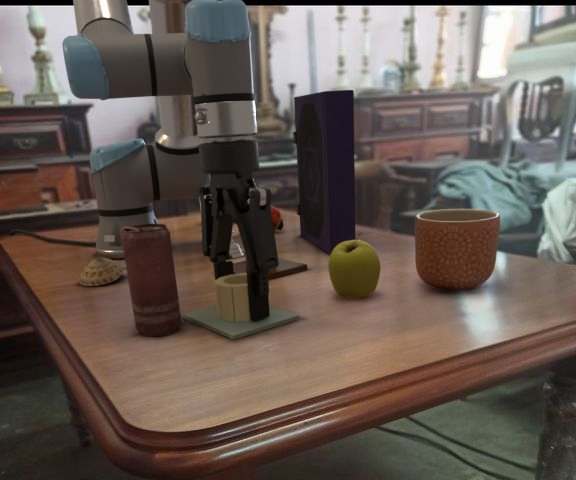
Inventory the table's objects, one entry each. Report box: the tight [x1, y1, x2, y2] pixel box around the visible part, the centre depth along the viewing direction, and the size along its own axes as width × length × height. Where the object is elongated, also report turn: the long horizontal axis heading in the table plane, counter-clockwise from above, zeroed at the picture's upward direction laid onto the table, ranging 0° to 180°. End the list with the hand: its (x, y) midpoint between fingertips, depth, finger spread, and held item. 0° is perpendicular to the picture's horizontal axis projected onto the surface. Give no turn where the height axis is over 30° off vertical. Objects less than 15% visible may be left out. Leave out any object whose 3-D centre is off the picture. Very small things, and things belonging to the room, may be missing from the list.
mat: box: [182, 304, 300, 341], centre depth 83 cm, size 13×11×1 cm
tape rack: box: [233, 252, 308, 280], centre depth 105 cm, size 12×12×14 cm
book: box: [292, 89, 357, 256], centre depth 123 cm, size 24×6×30 cm, turn 14°
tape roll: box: [213, 273, 252, 322], centre depth 82 cm, size 7×7×5 cm
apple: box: [327, 232, 381, 299], centre depth 88 cm, size 8×8×10 cm
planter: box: [414, 208, 501, 292], centre depth 90 cm, size 12×12×11 cm
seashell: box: [78, 256, 127, 287], centre depth 108 cm, size 8×6×8 cm
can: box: [121, 223, 182, 337], centre depth 78 cm, size 6×6×14 cm
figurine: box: [238, 205, 284, 232], centre depth 140 cm, size 10×10×15 cm
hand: (243, 312), depth 82 cm, fingers open, 7 cm apart
